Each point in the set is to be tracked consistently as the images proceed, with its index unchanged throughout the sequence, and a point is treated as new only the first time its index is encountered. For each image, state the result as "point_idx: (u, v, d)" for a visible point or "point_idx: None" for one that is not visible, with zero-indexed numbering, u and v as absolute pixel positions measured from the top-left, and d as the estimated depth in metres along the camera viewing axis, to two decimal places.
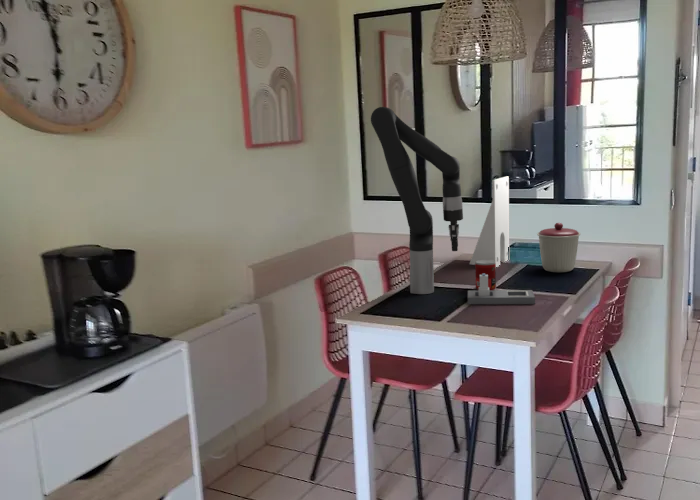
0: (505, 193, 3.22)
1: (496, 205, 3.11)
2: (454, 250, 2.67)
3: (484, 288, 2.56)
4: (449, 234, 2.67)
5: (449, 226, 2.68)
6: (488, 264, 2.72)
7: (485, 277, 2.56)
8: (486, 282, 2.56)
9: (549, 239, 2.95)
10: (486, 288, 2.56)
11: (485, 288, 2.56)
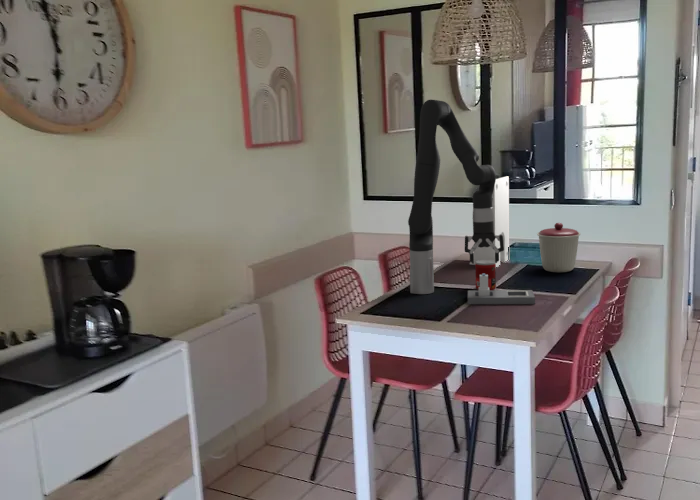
0: (506, 193, 3.22)
1: (496, 205, 3.11)
2: None
3: (484, 288, 2.56)
4: (494, 246, 2.53)
5: (488, 238, 2.53)
6: (488, 264, 2.71)
7: (485, 277, 2.56)
8: (486, 282, 2.56)
9: (549, 239, 2.95)
10: (486, 288, 2.56)
11: (485, 288, 2.56)
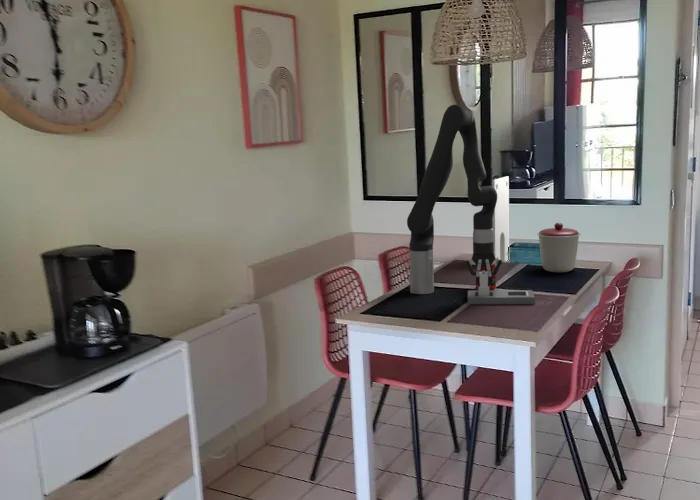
0: (505, 193, 3.22)
1: (496, 205, 3.11)
2: (489, 285, 2.57)
3: (484, 285, 2.57)
4: (490, 269, 2.55)
5: (488, 260, 2.54)
6: None
7: (485, 275, 2.56)
8: (486, 280, 2.56)
9: (549, 239, 2.95)
10: (486, 285, 2.57)
11: (484, 286, 2.57)
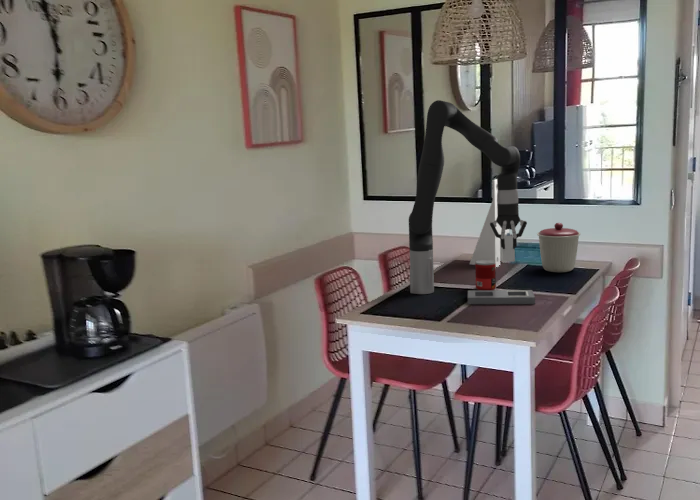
0: None
1: (496, 205, 3.11)
2: (514, 247, 2.53)
3: (509, 248, 2.53)
4: (515, 231, 2.51)
5: (513, 221, 2.50)
6: (488, 264, 2.72)
7: (510, 237, 2.52)
8: (511, 242, 2.52)
9: (549, 239, 2.95)
10: (511, 248, 2.53)
11: (510, 248, 2.53)
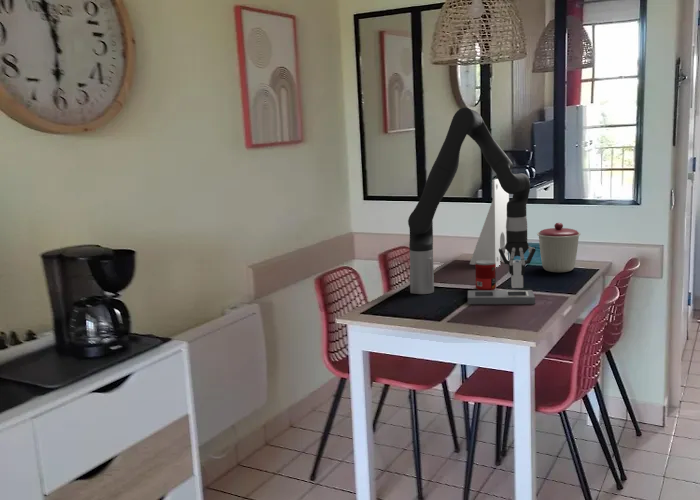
0: (505, 193, 3.22)
1: (496, 205, 3.11)
2: (522, 274, 2.55)
3: (517, 274, 2.54)
4: None
5: (522, 248, 2.52)
6: (488, 264, 2.72)
7: (518, 263, 2.53)
8: (519, 268, 2.53)
9: (549, 239, 2.95)
10: (519, 274, 2.54)
11: (518, 274, 2.54)
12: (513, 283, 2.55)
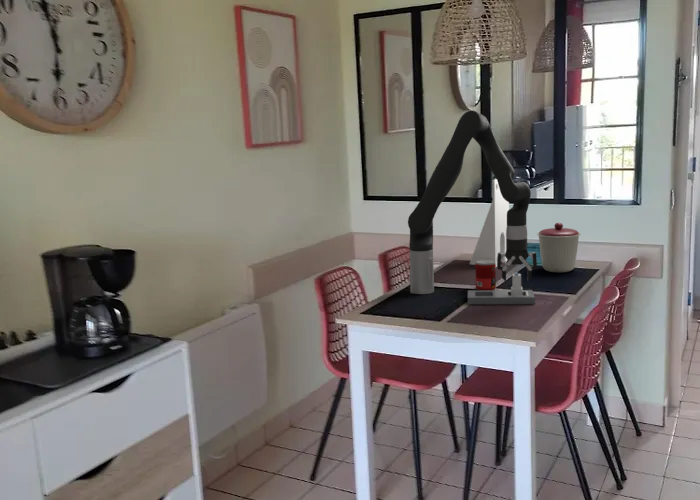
0: None
1: (496, 205, 3.11)
2: (529, 279, 2.54)
3: (517, 287, 2.55)
4: (527, 263, 2.52)
5: (521, 256, 2.52)
6: (488, 264, 2.72)
7: (518, 276, 2.54)
8: (519, 281, 2.55)
9: (549, 239, 2.95)
10: (519, 287, 2.55)
11: (518, 287, 2.55)
12: None
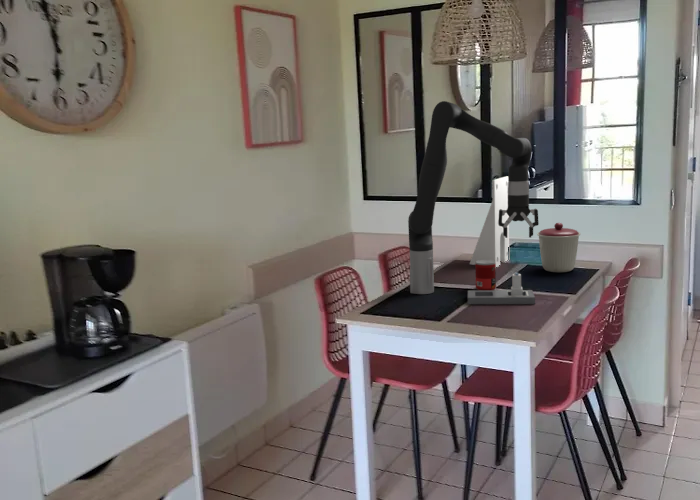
0: (506, 193, 3.22)
1: (496, 205, 3.11)
2: None
3: (517, 287, 2.55)
4: (529, 220, 2.50)
5: (523, 212, 2.50)
6: (488, 264, 2.72)
7: (518, 276, 2.54)
8: (519, 281, 2.55)
9: (549, 239, 2.95)
10: (519, 287, 2.55)
11: (518, 287, 2.55)
12: None
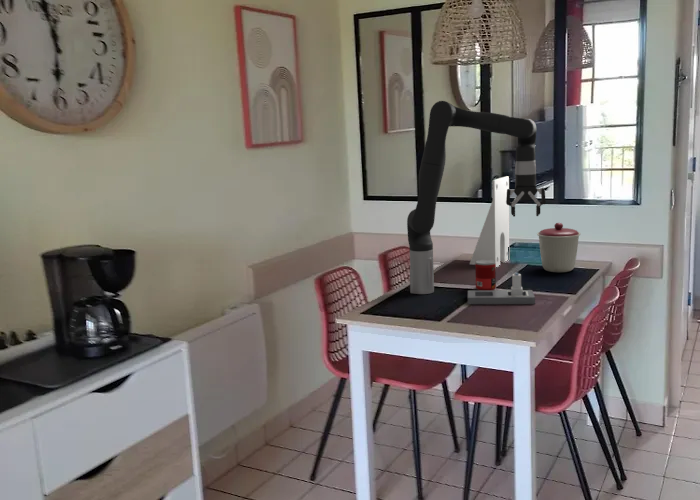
0: (506, 193, 3.22)
1: (496, 205, 3.11)
2: None
3: (517, 287, 2.55)
4: (536, 199, 2.57)
5: (530, 191, 2.57)
6: (488, 264, 2.72)
7: (518, 276, 2.54)
8: (519, 281, 2.55)
9: (549, 239, 2.95)
10: (519, 287, 2.55)
11: (518, 287, 2.55)
12: None
